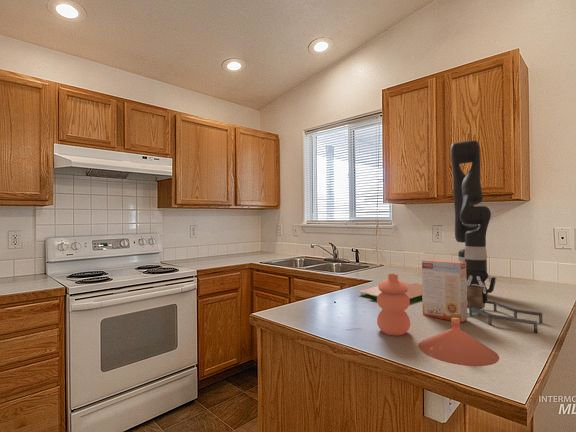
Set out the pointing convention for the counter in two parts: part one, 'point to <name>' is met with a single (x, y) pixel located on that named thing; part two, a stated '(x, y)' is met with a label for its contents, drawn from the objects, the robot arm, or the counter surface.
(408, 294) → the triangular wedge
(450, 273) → the cracker box
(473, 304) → the walnut block
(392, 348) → the counter surface
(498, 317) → the wire channel
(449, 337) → the ceramic vessels
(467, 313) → the mat
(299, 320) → the counter surface
